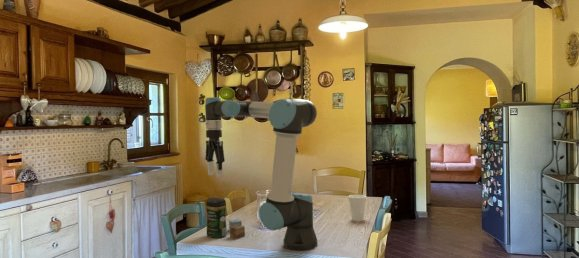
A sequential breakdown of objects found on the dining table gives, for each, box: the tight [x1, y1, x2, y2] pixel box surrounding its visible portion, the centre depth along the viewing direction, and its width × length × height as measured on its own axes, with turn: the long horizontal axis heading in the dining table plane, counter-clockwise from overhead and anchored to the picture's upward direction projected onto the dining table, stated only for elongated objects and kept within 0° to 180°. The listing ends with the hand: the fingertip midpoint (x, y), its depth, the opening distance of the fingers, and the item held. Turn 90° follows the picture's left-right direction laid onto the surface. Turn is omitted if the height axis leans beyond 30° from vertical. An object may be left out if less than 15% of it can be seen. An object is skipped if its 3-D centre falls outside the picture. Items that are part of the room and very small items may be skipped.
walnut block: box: [229, 225, 246, 240], centre depth 192 cm, size 5×5×5 cm
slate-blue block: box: [228, 218, 243, 231], centre depth 204 cm, size 5×5×5 cm
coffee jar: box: [205, 197, 228, 239], centre depth 194 cm, size 10×8×19 cm
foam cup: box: [348, 194, 367, 222], centre depth 218 cm, size 10×9×13 cm
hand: (215, 175), depth 194 cm, fingers open, 9 cm apart
